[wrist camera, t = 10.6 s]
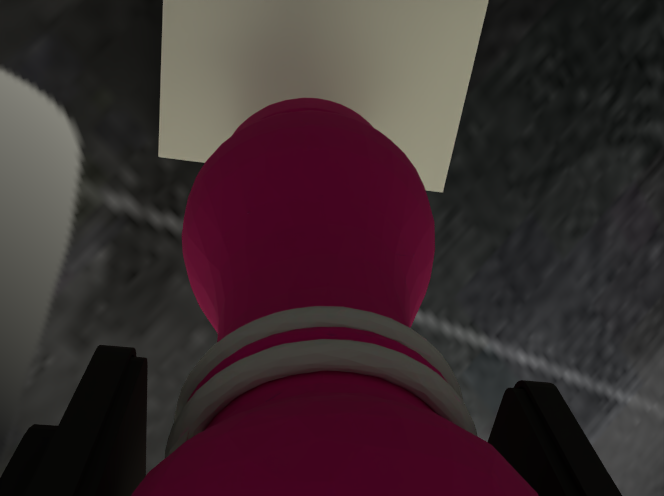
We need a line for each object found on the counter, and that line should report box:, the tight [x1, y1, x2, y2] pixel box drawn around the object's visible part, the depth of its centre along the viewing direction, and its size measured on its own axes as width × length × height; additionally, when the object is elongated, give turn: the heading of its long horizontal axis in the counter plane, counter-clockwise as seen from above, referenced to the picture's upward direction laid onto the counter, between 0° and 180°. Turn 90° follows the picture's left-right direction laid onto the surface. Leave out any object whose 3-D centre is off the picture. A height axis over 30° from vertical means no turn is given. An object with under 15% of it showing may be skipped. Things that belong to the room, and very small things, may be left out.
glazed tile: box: [158, 0, 489, 192], centre depth 24 cm, size 3×12×12 cm
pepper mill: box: [131, 98, 539, 496], centre depth 13 cm, size 7×7×20 cm
